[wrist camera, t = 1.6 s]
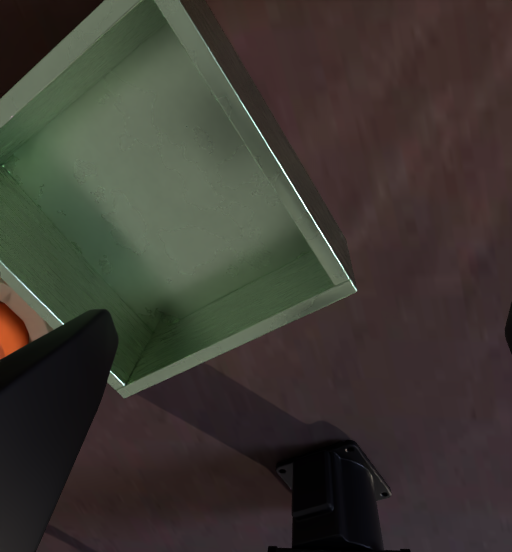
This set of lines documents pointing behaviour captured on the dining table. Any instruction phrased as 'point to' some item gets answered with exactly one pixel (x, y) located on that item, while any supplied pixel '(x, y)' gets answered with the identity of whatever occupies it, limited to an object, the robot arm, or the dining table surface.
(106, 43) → the warming box
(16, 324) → the button
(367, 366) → the dining table surface
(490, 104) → the dining table surface
